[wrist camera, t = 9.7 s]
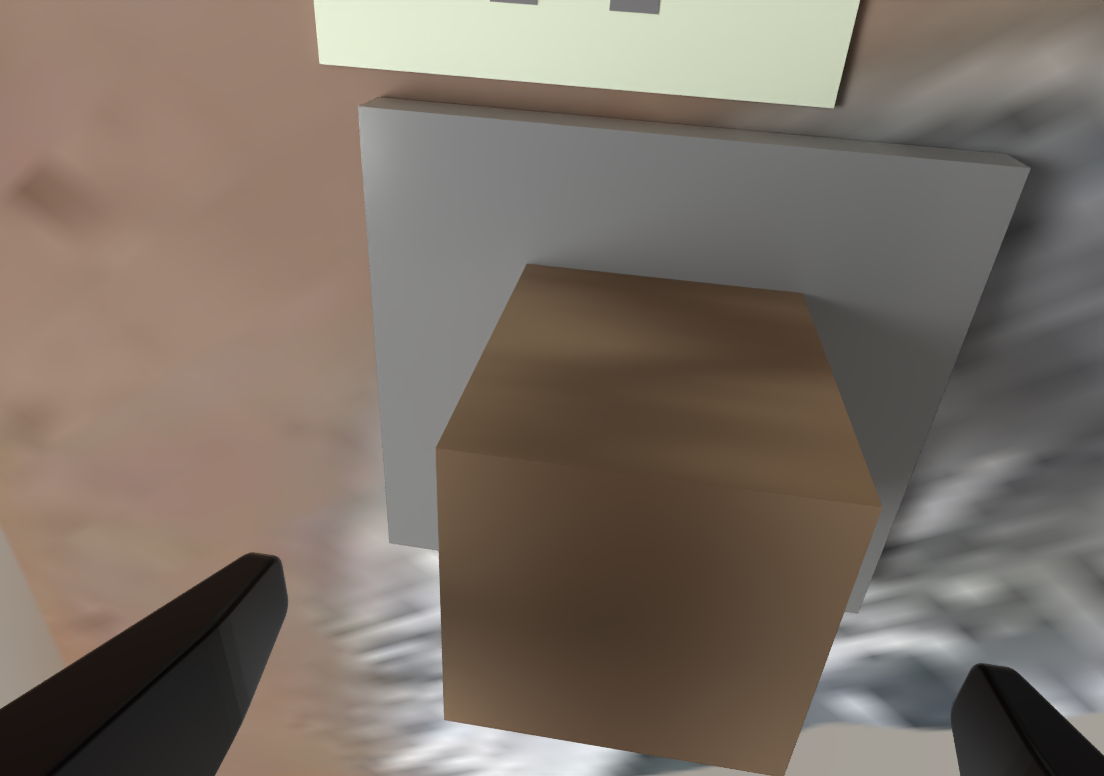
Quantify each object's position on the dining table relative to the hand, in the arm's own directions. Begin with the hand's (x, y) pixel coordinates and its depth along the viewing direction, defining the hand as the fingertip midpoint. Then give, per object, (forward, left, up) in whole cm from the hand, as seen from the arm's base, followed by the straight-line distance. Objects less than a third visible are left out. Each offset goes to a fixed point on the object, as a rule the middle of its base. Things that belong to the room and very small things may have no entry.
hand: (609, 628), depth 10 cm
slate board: (0, 0, -7) cm, 7 cm away
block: (0, 0, -6) cm, 6 cm away
